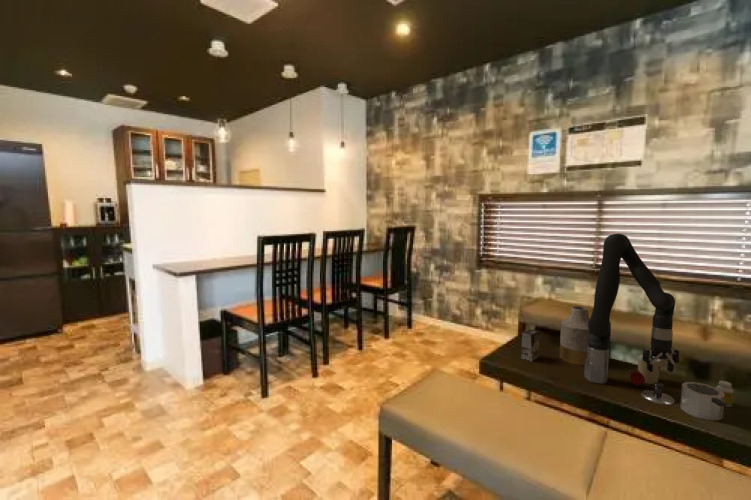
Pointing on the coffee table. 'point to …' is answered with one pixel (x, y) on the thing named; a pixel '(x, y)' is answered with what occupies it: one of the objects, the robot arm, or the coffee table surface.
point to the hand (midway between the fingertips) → (660, 371)
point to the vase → (575, 336)
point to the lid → (657, 395)
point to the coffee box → (530, 344)
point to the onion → (637, 378)
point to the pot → (702, 401)
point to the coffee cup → (649, 376)
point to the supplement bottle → (726, 392)
